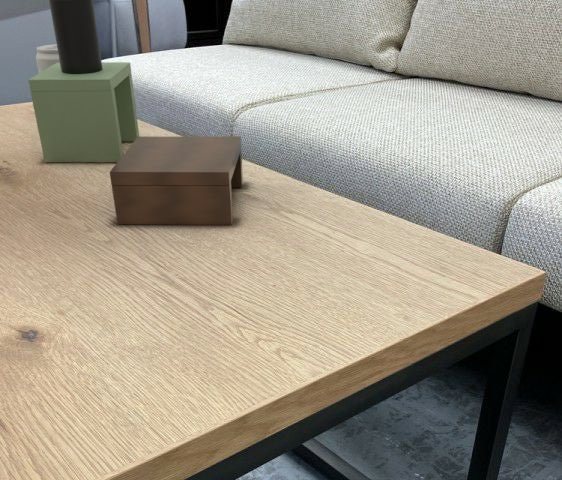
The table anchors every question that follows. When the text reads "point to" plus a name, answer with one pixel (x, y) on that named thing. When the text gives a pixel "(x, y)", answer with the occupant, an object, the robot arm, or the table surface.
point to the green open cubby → (84, 113)
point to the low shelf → (177, 180)
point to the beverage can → (47, 56)
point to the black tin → (76, 36)
